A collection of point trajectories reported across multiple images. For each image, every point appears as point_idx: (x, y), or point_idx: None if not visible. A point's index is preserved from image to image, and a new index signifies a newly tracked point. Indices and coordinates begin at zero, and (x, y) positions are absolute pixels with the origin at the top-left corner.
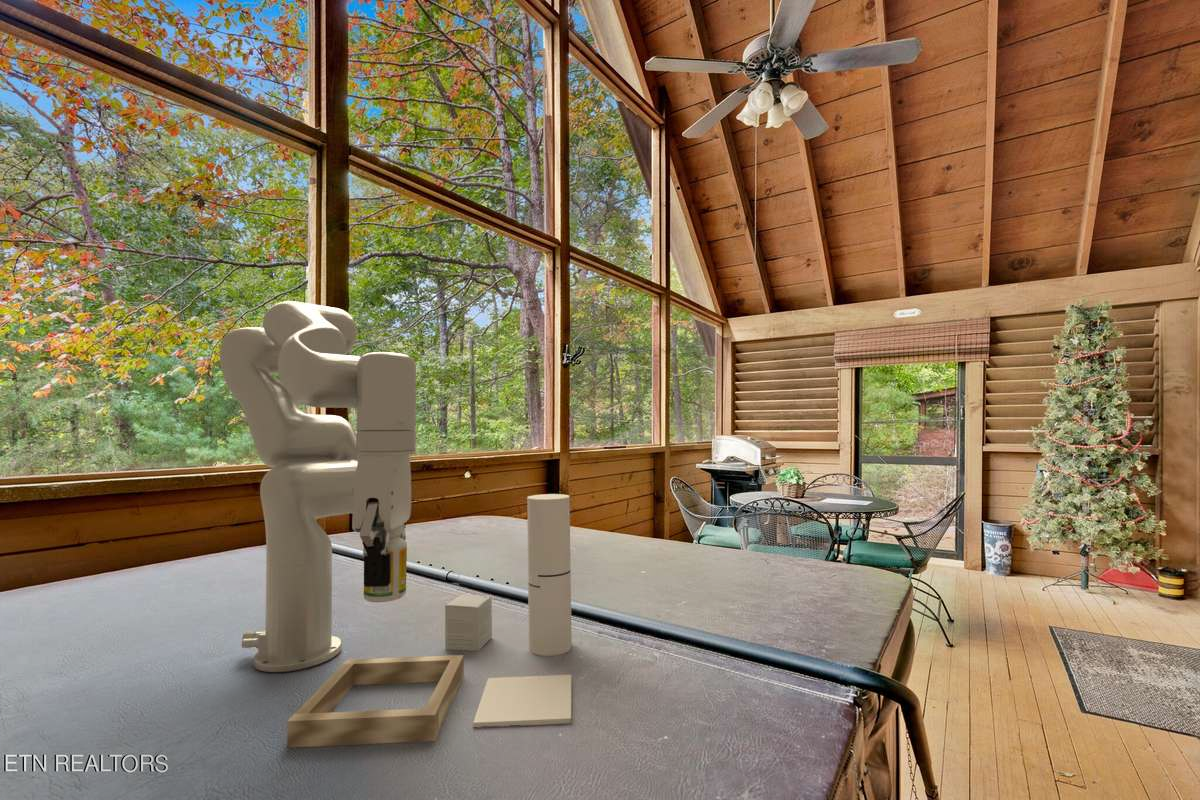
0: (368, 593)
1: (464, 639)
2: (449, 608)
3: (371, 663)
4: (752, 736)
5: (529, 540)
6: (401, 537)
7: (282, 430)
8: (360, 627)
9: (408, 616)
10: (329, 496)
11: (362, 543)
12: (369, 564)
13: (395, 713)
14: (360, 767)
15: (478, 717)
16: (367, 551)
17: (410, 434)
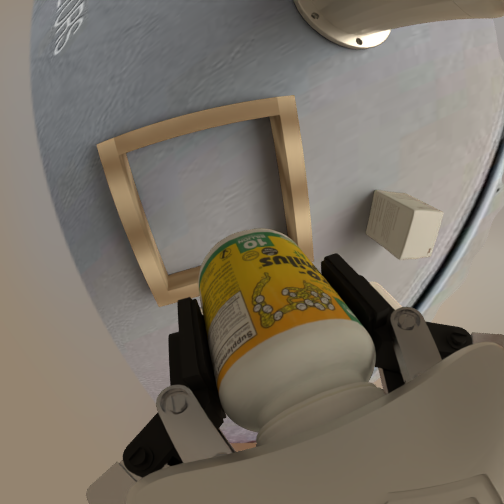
0: (201, 277)
1: (377, 221)
2: (409, 216)
3: (284, 142)
4: (224, 427)
5: None
6: (381, 377)
7: None
8: (424, 53)
9: (450, 104)
10: None
11: (127, 452)
12: (172, 373)
13: (148, 266)
14: (100, 248)
15: (202, 313)
16: (153, 422)
17: None
